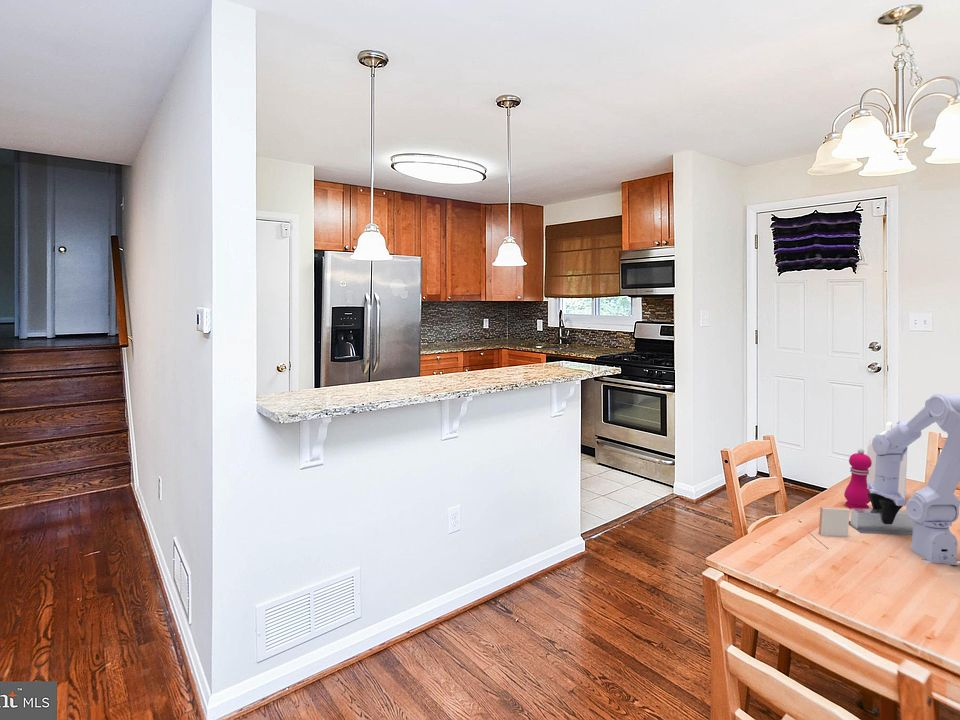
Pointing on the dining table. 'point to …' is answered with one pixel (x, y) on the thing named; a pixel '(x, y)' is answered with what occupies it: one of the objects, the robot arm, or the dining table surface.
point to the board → (882, 531)
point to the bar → (880, 520)
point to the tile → (834, 521)
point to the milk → (871, 469)
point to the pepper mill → (858, 481)
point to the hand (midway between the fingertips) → (883, 521)
